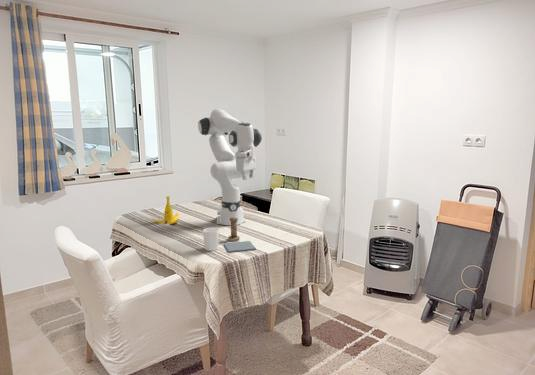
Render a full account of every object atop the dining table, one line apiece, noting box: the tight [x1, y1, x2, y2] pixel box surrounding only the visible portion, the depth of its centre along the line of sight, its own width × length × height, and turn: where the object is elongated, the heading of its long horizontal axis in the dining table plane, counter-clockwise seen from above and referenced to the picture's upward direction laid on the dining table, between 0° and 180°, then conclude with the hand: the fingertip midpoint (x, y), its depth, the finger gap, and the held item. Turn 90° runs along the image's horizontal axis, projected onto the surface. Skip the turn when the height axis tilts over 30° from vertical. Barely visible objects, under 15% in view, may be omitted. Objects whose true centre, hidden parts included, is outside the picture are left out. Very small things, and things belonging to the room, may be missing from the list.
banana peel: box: [151, 195, 179, 225], centre depth 249 cm, size 17×19×17 cm
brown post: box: [228, 217, 240, 242], centre depth 214 cm, size 6×6×12 cm
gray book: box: [223, 240, 257, 253], centre depth 202 cm, size 12×14×1 cm
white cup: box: [202, 227, 220, 252], centre depth 199 cm, size 8×8×10 cm
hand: (247, 178), depth 213 cm, fingers open, 8 cm apart
